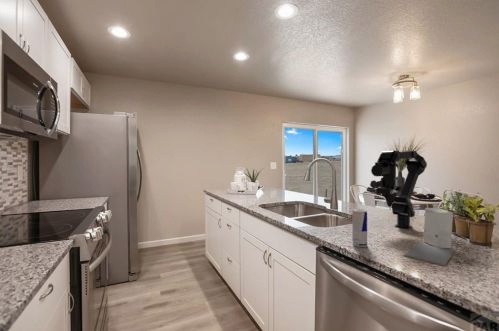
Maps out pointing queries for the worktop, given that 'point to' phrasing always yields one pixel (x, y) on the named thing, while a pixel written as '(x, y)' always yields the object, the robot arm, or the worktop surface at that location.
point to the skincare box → (438, 227)
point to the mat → (430, 254)
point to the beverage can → (359, 227)
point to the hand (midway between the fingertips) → (389, 206)
